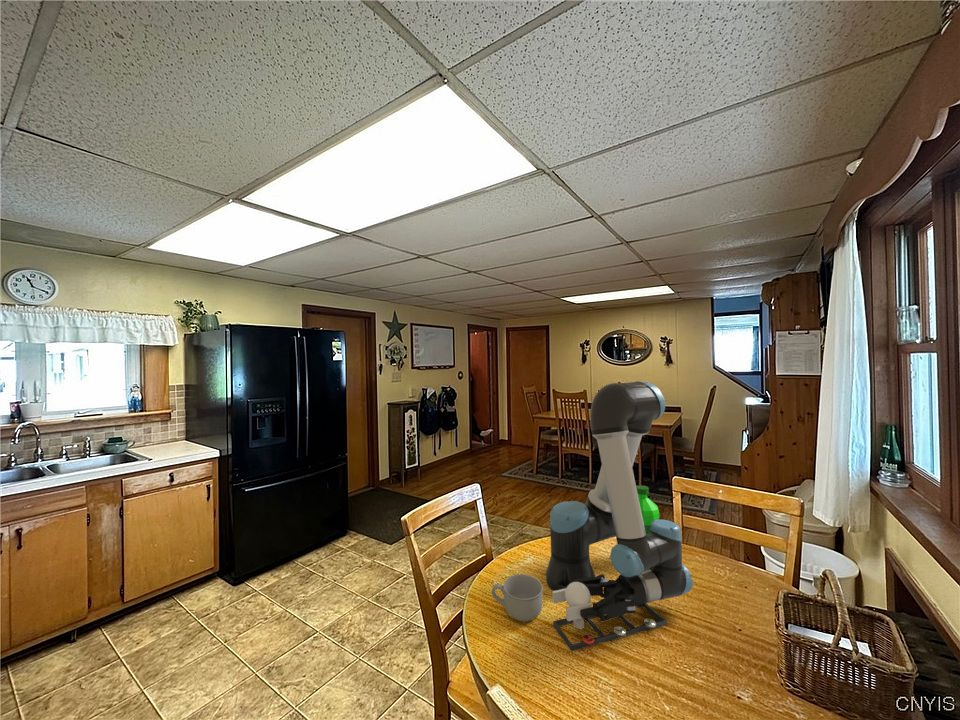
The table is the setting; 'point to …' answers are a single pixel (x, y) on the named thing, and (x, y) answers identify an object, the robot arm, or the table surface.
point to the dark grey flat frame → (619, 633)
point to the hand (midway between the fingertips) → (560, 605)
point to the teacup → (520, 596)
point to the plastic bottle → (647, 507)
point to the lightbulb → (577, 599)
